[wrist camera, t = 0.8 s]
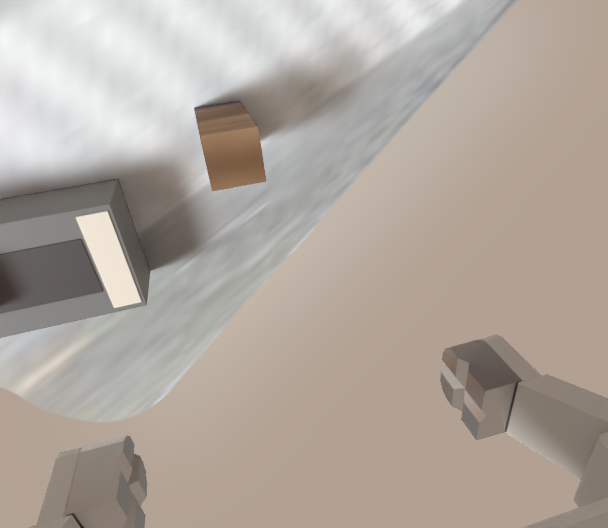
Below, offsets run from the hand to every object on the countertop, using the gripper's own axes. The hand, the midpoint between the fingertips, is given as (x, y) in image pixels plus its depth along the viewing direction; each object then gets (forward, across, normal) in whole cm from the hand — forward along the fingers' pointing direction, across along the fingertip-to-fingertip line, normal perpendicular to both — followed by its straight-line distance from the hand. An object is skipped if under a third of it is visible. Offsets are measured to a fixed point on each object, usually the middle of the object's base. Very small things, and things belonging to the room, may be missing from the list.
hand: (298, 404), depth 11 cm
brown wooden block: (+33, -1, 0) cm, 33 cm away
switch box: (+33, +17, +8) cm, 38 cm away
